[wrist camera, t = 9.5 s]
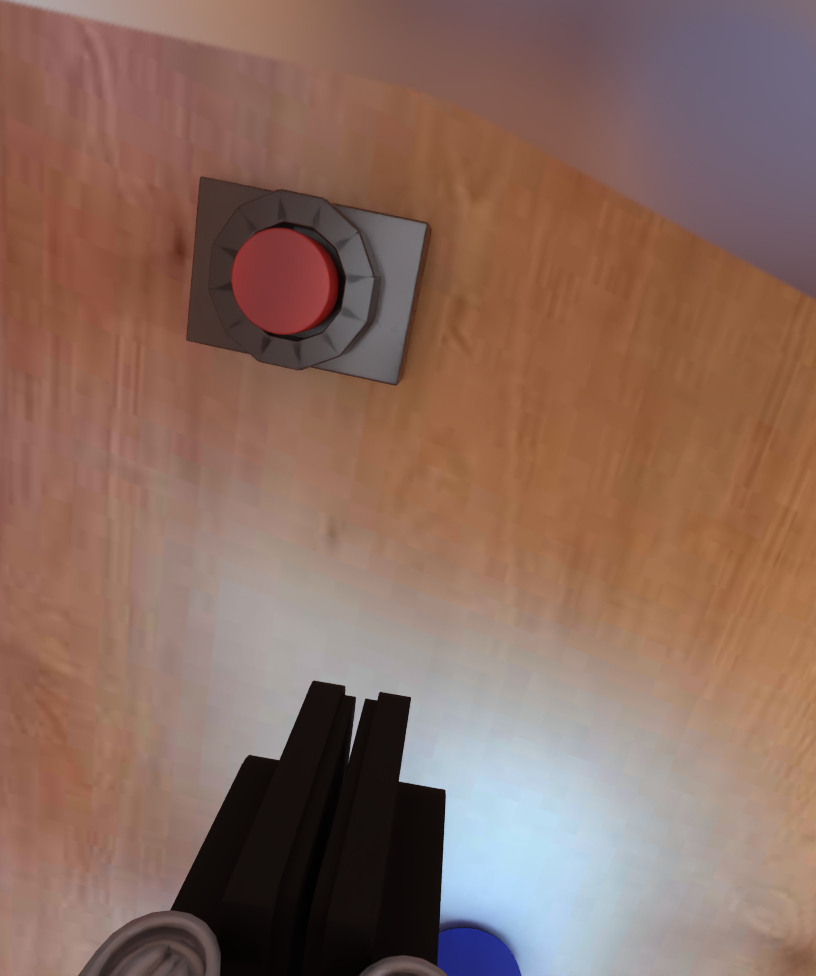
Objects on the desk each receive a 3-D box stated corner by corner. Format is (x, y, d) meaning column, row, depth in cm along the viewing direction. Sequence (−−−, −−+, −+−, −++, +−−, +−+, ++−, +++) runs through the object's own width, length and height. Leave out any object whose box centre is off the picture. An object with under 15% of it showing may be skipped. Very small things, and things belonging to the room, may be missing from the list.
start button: (346, 242, 25) (337, 238, 24) (331, 341, 26) (321, 344, 25) (251, 223, 25) (236, 217, 24) (240, 322, 27) (225, 323, 25)
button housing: (431, 228, 28) (425, 216, 24) (402, 380, 30) (392, 391, 26) (219, 184, 28) (180, 166, 25) (205, 337, 31) (167, 343, 27)
